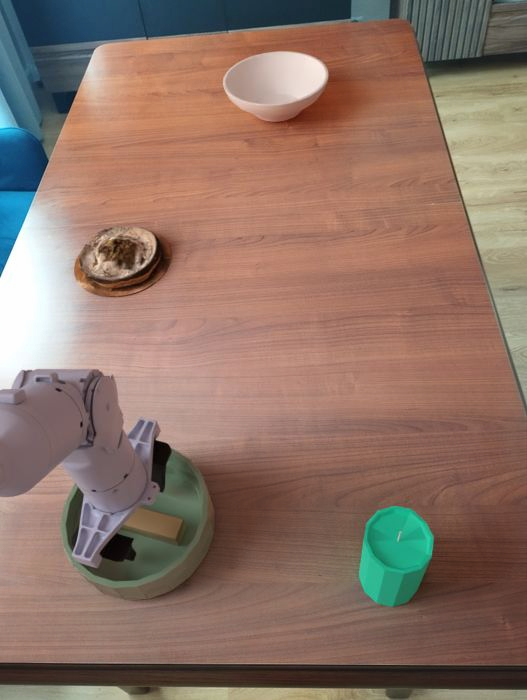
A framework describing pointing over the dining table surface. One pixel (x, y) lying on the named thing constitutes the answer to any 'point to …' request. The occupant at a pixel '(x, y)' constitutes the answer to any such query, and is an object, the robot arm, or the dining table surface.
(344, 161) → the dining table surface
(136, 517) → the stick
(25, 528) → the dining table surface
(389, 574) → the candle
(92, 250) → the brown mottled round dish
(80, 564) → the mixing bowl
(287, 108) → the bowl
